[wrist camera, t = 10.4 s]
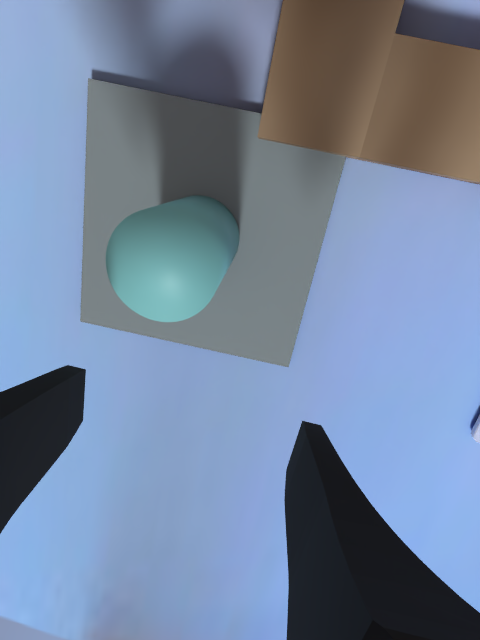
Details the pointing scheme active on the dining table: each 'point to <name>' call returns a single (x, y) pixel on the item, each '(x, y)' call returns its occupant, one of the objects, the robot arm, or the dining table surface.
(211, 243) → the peg
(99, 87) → the slate mat
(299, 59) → the holder block
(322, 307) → the dining table surface
